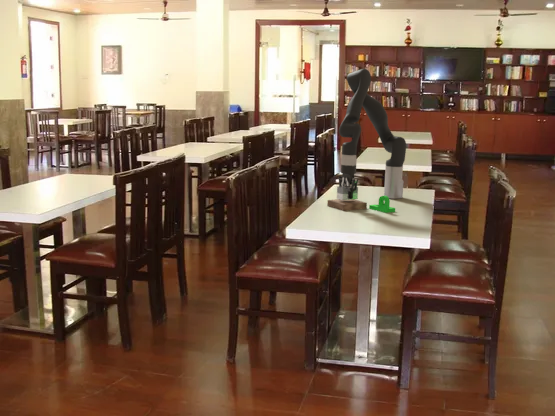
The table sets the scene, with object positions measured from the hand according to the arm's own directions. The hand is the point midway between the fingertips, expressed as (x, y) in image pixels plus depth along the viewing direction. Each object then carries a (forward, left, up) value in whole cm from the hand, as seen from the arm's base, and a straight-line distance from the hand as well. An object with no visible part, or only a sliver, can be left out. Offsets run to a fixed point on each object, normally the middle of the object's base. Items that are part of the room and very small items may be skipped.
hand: (347, 197), depth 313 cm
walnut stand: (0, 0, -5) cm, 5 cm away
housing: (0, 0, -1) cm, 1 cm away
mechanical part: (-12, +13, -5) cm, 18 cm away
